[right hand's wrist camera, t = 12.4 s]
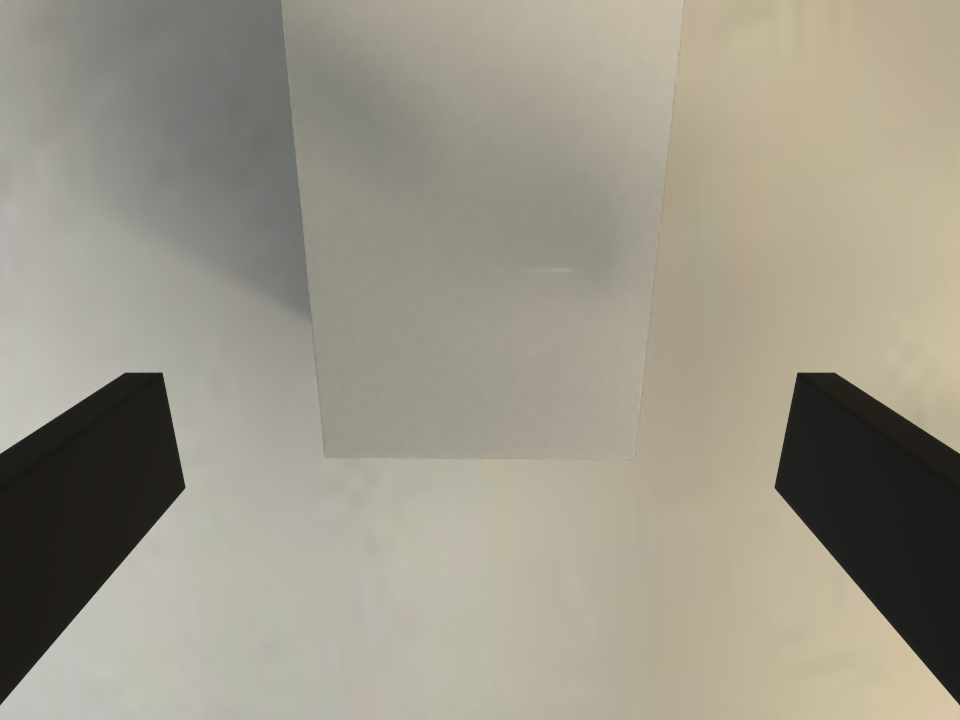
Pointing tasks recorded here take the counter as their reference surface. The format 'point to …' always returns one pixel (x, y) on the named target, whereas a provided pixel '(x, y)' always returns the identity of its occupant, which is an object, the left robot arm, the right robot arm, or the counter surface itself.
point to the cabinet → (481, 219)
